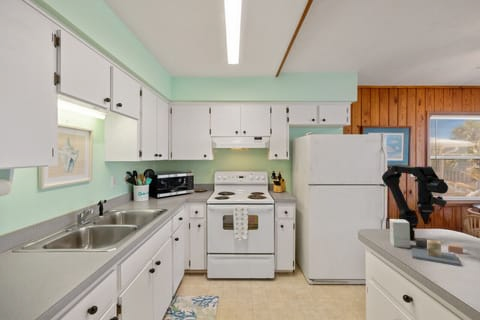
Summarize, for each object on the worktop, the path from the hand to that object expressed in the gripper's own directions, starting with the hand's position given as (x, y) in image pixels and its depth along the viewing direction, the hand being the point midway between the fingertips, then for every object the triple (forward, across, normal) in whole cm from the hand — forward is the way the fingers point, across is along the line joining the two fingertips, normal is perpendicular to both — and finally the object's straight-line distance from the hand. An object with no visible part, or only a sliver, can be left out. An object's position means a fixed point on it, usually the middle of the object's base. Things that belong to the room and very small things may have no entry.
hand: (425, 222), depth 125 cm
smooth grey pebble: (+12, -1, +2) cm, 12 cm away
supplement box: (+12, -5, +11) cm, 17 cm away
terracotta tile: (+12, -3, -11) cm, 17 cm away
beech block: (+11, -16, -2) cm, 19 cm away
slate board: (+12, -16, -2) cm, 20 cm away
